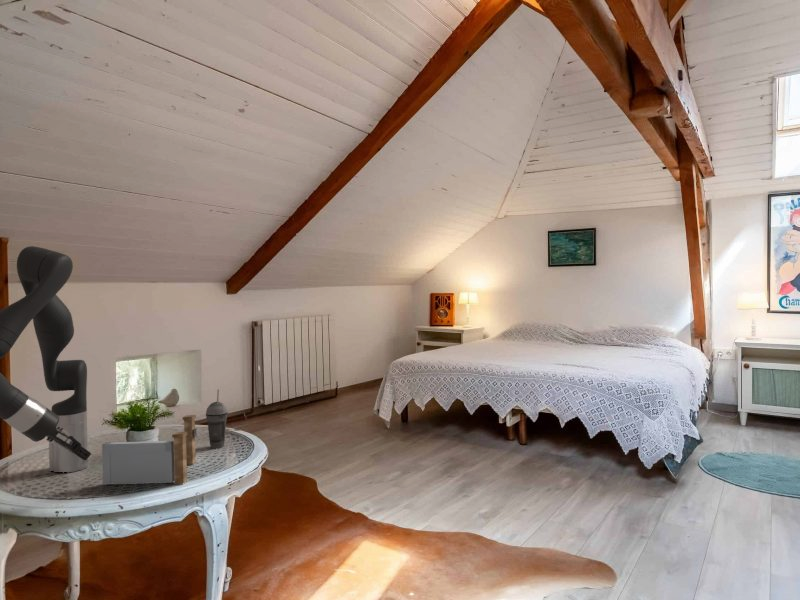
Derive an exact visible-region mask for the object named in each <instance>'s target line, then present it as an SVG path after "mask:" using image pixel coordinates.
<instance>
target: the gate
mask: <svg viewBox="0 0 800 600" xmlns="http://www.w3.org/2000/svg"><path fill="white" fill-rule="evenodd" d="M101 458H102V460H101V462H102V484H103V485H111V484H112V485H116V484H119V485H121V484H150V483H151V484H154V483H156V484H157V483H159V484H160V483H167V484H168V483H174V482H175V469H174V440H155V441H153V440H151V441H150V440H148V441H119V442H116V441H115V442H114V441H110V442H104V443H102V444H101Z"/></svg>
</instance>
